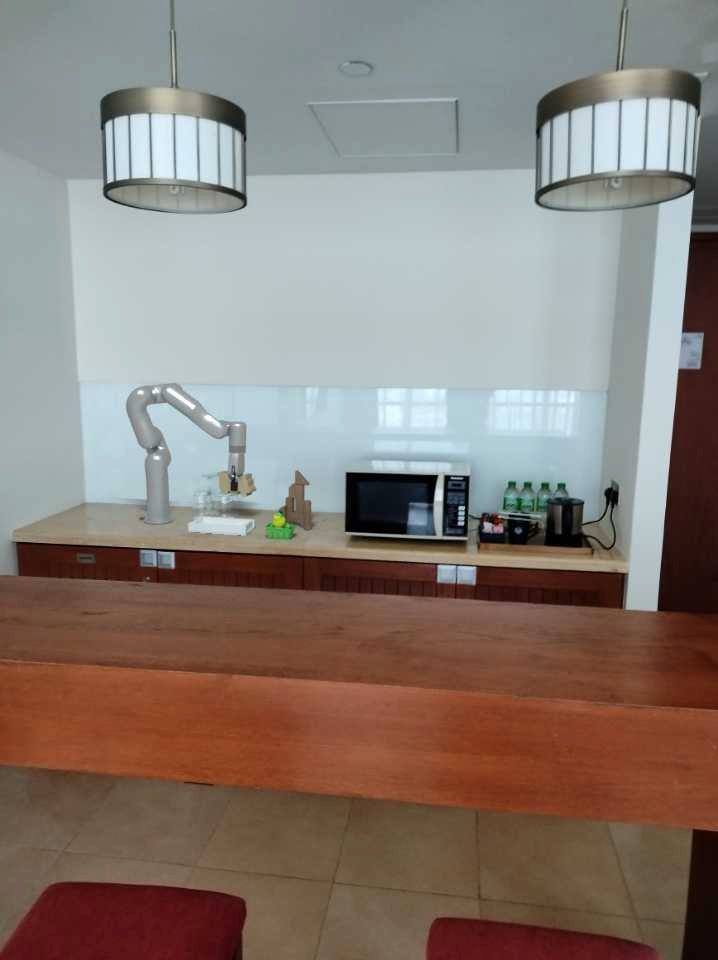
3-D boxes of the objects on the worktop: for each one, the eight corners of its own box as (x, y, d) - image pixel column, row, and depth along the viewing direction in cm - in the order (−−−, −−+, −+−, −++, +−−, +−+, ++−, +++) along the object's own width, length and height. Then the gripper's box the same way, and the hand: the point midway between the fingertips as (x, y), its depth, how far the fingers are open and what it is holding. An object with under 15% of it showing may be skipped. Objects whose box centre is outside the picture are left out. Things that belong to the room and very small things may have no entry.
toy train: (250, 498, 302) (251, 475, 300) (216, 493, 307) (217, 471, 305) (256, 495, 307) (256, 474, 305) (223, 491, 312) (223, 470, 310)
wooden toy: (276, 527, 299) (276, 471, 295) (282, 523, 306) (283, 468, 301) (309, 530, 295) (309, 473, 290) (315, 527, 301) (315, 471, 296)
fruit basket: (296, 536, 285) (296, 510, 283) (289, 541, 277) (290, 514, 275) (270, 534, 287) (270, 508, 285) (263, 539, 279) (263, 512, 277)
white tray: (188, 532, 287) (188, 523, 287) (200, 525, 300) (200, 516, 299) (245, 536, 284) (245, 526, 283) (255, 528, 296) (255, 519, 296)
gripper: (235, 446, 312) (235, 485, 315) (222, 451, 295) (221, 492, 299) (251, 447, 311) (250, 486, 314) (239, 452, 294) (238, 493, 298)
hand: (236, 488), depth 306 cm, fingers closed on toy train, 6 cm apart
